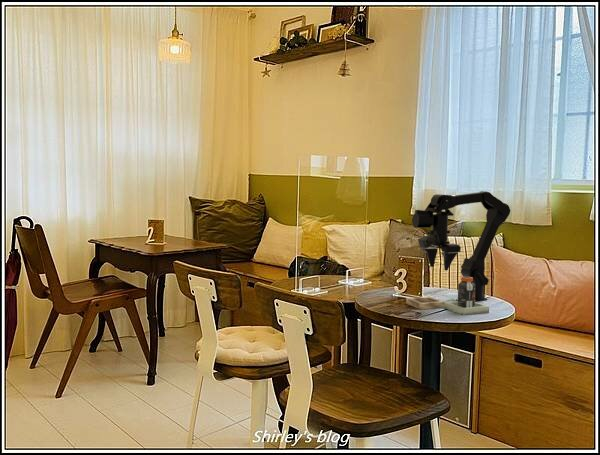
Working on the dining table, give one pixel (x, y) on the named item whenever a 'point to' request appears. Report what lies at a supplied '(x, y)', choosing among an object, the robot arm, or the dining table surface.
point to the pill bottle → (466, 292)
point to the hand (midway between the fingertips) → (438, 268)
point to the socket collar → (425, 302)
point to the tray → (471, 310)
